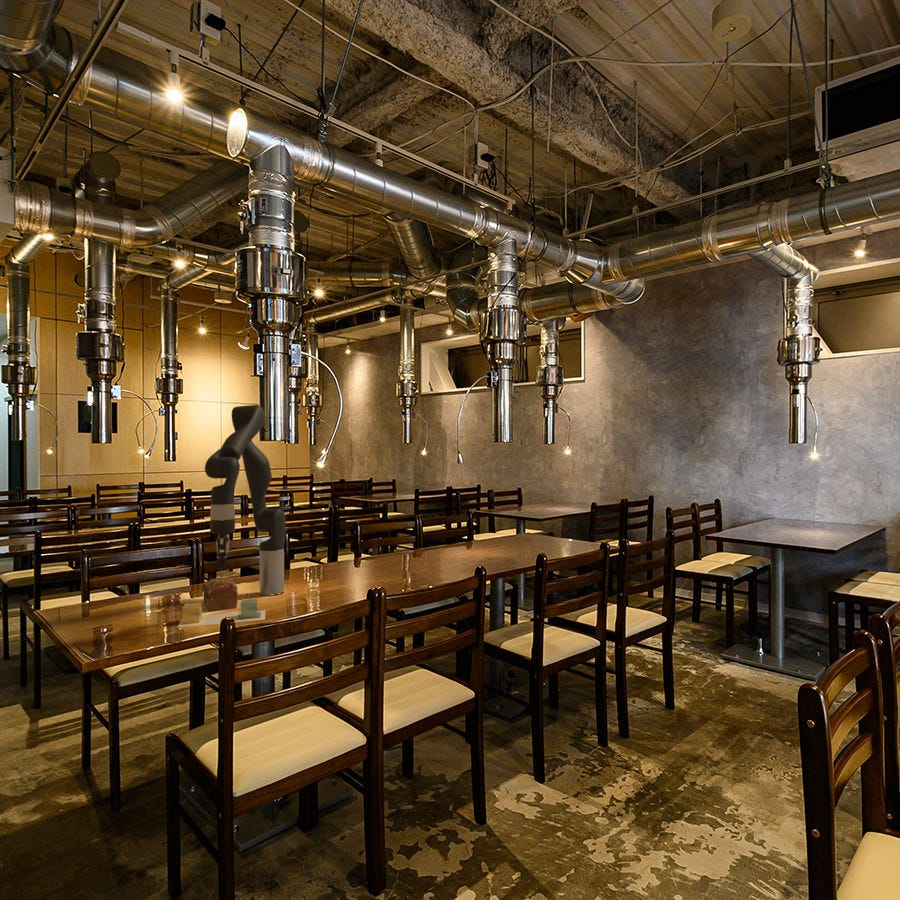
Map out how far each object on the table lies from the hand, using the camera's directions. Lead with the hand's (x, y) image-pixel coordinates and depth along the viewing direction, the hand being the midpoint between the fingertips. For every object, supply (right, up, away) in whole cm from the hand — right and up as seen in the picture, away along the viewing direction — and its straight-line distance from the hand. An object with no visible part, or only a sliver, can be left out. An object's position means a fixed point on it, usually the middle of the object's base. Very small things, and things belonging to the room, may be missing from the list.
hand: (222, 567), depth 189 cm
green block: (+8, -17, +3) cm, 18 cm away
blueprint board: (0, -18, 0) cm, 17 cm away
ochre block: (-9, -17, -2) cm, 19 cm away
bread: (-9, -18, +19) cm, 28 cm away
